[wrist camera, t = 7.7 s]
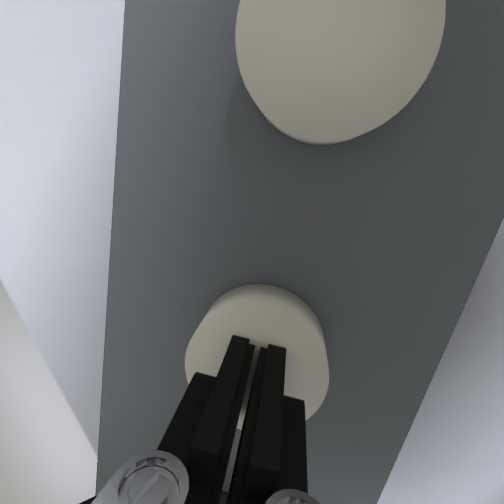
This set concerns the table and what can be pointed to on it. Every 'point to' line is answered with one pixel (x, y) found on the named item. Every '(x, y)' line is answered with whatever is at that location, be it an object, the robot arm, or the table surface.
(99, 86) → the table surface
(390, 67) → the knob
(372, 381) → the control panel
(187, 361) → the knob middle
